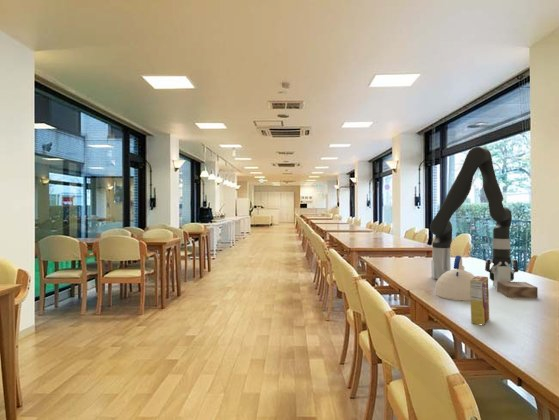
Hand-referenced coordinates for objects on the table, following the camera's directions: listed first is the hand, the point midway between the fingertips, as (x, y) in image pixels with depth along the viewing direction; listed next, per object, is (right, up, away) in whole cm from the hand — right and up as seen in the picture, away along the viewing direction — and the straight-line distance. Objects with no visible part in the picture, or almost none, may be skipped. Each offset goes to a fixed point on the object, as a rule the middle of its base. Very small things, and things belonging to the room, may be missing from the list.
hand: (501, 280), depth 189 cm
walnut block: (-2, -4, -16) cm, 16 cm away
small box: (0, -3, 0) cm, 3 cm away
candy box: (-39, -5, -55) cm, 68 cm away
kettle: (-29, -4, -16) cm, 33 cm away
